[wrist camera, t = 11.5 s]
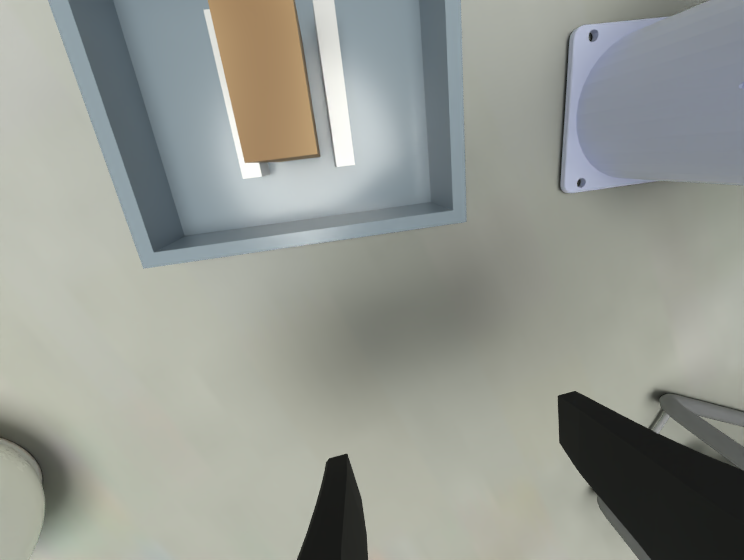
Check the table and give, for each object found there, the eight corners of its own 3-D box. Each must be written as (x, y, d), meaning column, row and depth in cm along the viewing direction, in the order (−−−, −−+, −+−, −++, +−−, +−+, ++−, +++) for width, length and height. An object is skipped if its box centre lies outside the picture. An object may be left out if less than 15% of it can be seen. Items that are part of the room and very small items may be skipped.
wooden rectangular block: (301, 38, 16) (280, -76, 8) (320, 157, 17) (317, 153, 10) (256, 43, 15) (191, -70, 8) (279, 161, 17) (244, 163, 10)
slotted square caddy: (424, -62, 15) (457, -133, 12) (439, 210, 19) (466, 222, 16) (92, -38, 14) (9, -108, 11) (180, 246, 18) (143, 268, 15)
